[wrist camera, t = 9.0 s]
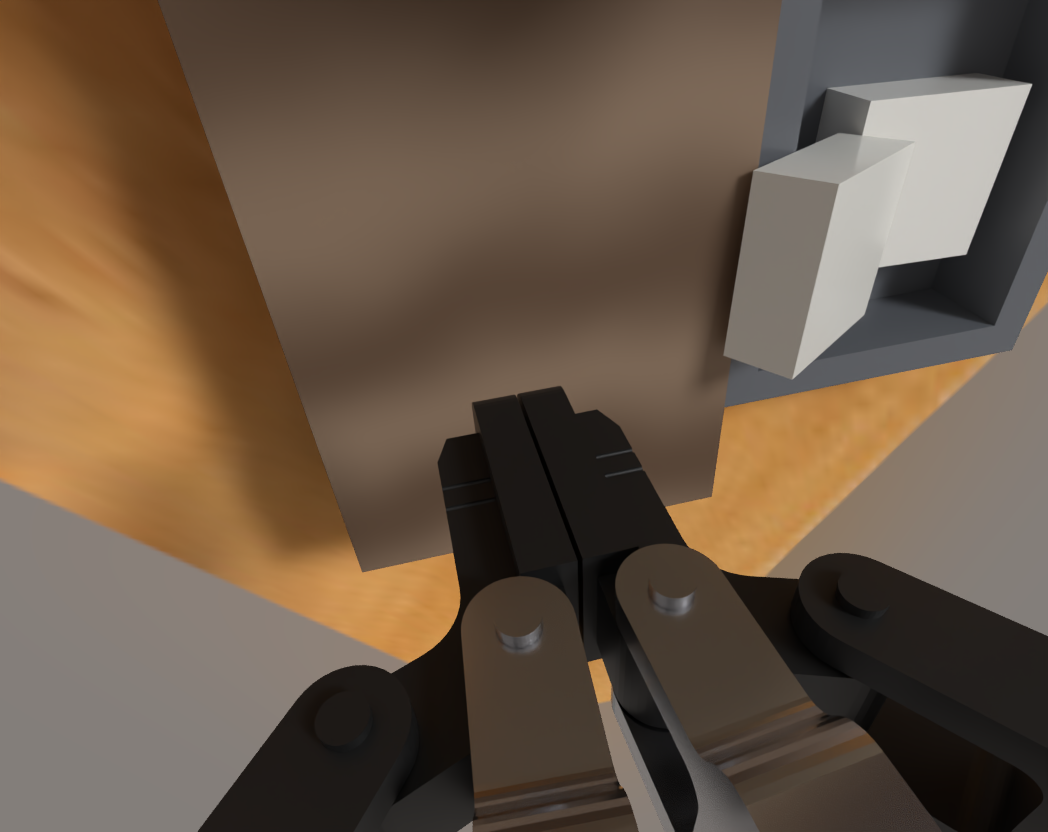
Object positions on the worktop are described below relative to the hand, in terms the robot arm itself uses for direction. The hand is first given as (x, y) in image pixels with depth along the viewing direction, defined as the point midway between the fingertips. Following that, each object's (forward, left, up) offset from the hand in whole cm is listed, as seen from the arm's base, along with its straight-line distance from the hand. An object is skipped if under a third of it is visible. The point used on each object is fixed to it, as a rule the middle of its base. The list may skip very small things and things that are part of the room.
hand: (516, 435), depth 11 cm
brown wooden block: (0, +1, -11) cm, 11 cm away
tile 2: (0, +14, -8) cm, 16 cm away
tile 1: (+1, +9, -7) cm, 11 cm away
